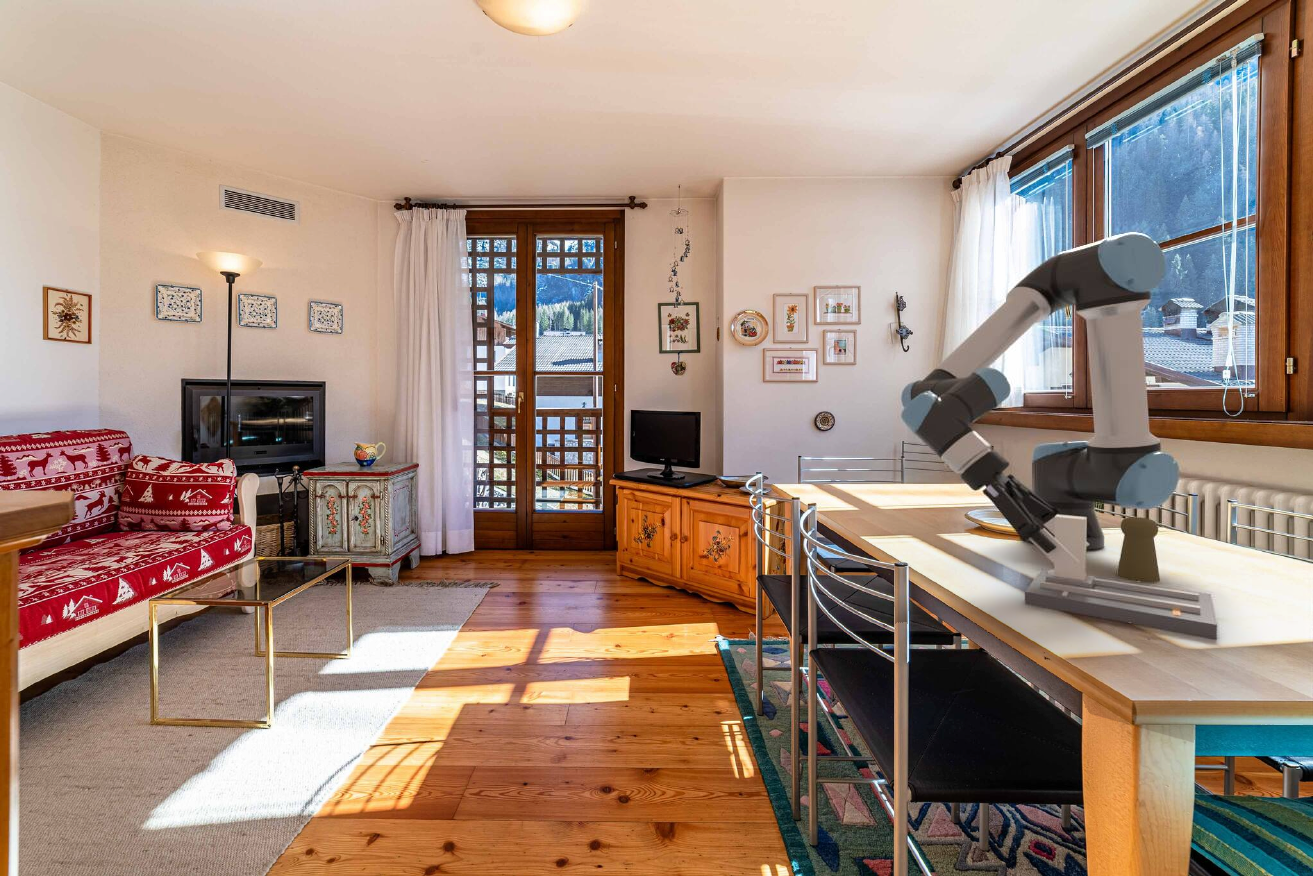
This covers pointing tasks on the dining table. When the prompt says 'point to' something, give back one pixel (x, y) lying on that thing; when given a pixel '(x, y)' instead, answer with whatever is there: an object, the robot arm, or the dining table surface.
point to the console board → (1129, 604)
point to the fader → (1072, 551)
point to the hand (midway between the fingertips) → (1077, 557)
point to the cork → (1139, 550)
